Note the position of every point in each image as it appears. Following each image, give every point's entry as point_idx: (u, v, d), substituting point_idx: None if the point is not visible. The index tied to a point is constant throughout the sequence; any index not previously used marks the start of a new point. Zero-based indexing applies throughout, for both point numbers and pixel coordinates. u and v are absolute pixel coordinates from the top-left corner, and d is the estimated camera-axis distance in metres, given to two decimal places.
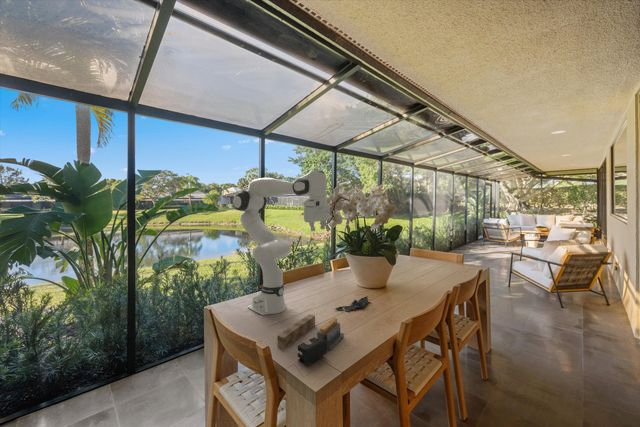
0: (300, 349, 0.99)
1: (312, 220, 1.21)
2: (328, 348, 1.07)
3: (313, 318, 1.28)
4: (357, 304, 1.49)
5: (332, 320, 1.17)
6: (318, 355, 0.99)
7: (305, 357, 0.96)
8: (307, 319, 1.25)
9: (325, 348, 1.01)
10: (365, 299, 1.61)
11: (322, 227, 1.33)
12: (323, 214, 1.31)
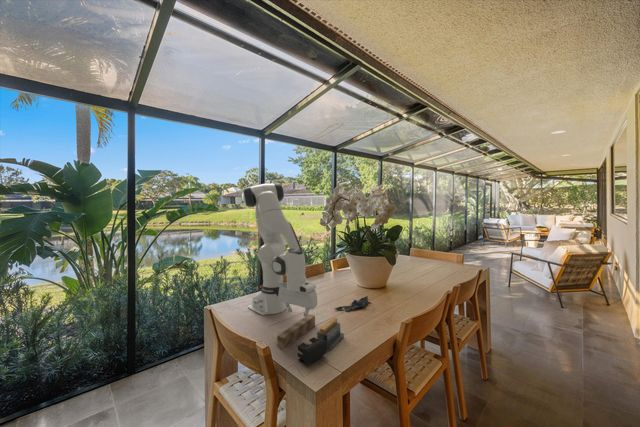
0: (300, 349, 0.99)
1: None
2: (328, 348, 1.07)
3: (313, 318, 1.28)
4: (357, 304, 1.49)
5: (332, 320, 1.17)
6: (318, 355, 0.99)
7: (305, 357, 0.96)
8: (307, 319, 1.25)
9: (325, 348, 1.01)
10: (365, 299, 1.61)
11: (291, 309, 1.21)
12: None
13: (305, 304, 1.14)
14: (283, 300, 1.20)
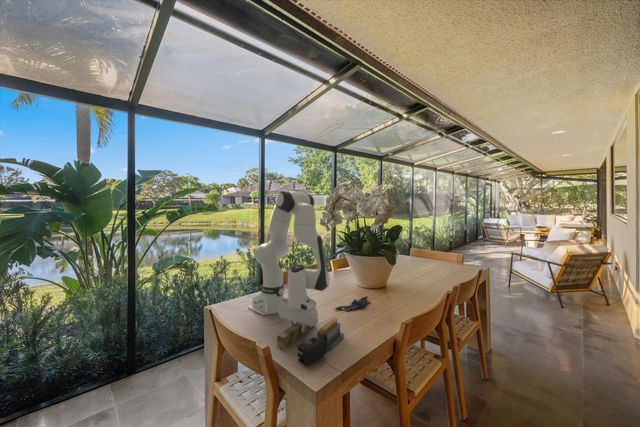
0: (300, 349, 0.99)
1: None
2: (328, 348, 1.07)
3: None
4: (357, 304, 1.49)
5: (332, 320, 1.17)
6: (318, 355, 0.99)
7: (305, 357, 0.96)
8: None
9: (325, 348, 1.01)
10: (365, 299, 1.61)
11: None
12: None
13: (306, 321, 1.15)
14: (284, 316, 1.21)
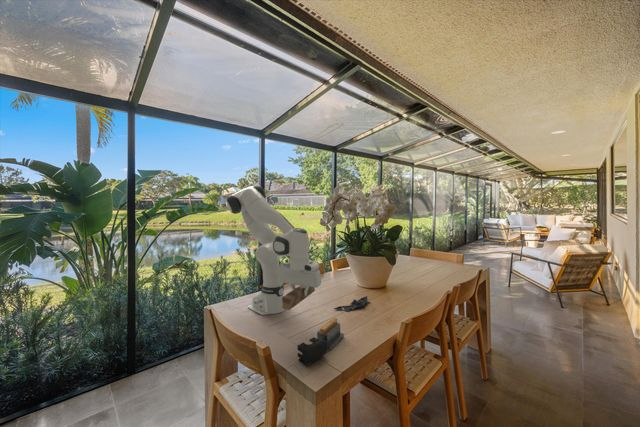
0: (300, 349, 0.99)
1: None
2: (328, 348, 1.07)
3: None
4: (356, 304, 1.49)
5: (332, 320, 1.17)
6: (318, 355, 0.99)
7: (305, 357, 0.96)
8: None
9: (325, 348, 1.01)
10: (365, 299, 1.61)
11: None
12: None
13: (309, 283, 1.13)
14: (285, 280, 1.19)
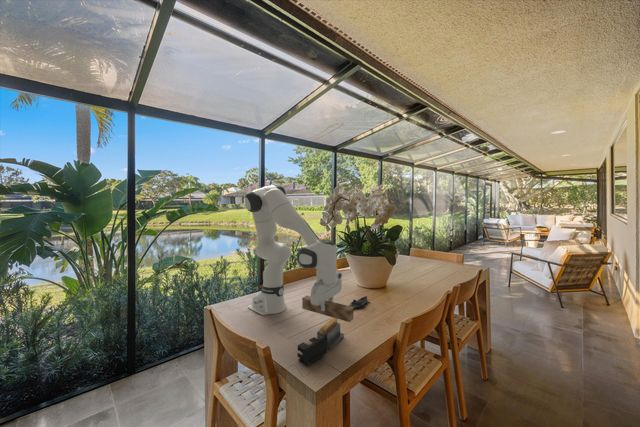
0: (300, 349, 0.99)
1: None
2: (328, 348, 1.07)
3: None
4: (356, 304, 1.49)
5: (332, 320, 1.17)
6: (318, 355, 0.99)
7: (305, 357, 0.96)
8: None
9: (325, 348, 1.01)
10: (364, 299, 1.61)
11: None
12: None
13: (337, 290, 1.16)
14: (322, 300, 1.06)
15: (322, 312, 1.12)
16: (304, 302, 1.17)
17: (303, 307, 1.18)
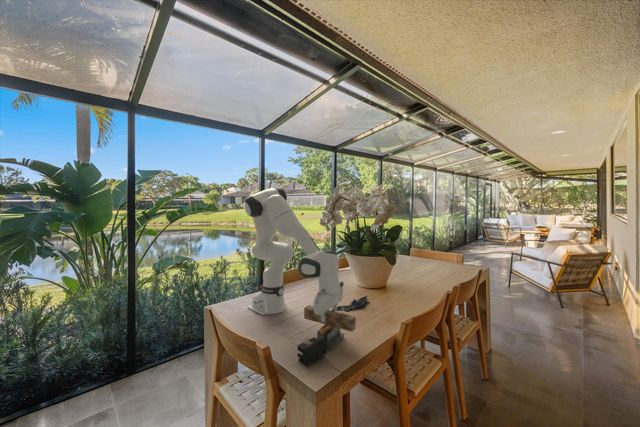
0: (300, 349, 0.99)
1: None
2: (328, 348, 1.07)
3: None
4: (356, 304, 1.49)
5: None
6: (318, 355, 0.99)
7: (305, 357, 0.96)
8: None
9: (325, 348, 1.01)
10: (364, 299, 1.62)
11: None
12: None
13: (338, 299, 1.18)
14: (325, 310, 1.07)
15: (324, 322, 1.13)
16: (306, 312, 1.18)
17: (305, 317, 1.18)
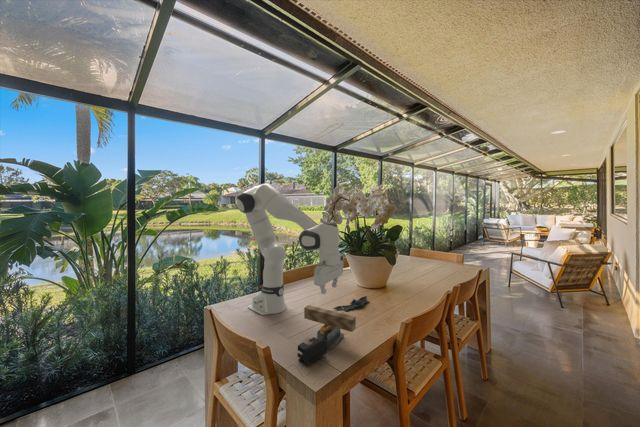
0: (300, 349, 0.99)
1: None
2: (328, 348, 1.07)
3: None
4: (356, 303, 1.50)
5: None
6: (318, 355, 0.99)
7: (305, 357, 0.96)
8: (316, 308, 1.18)
9: (325, 348, 1.01)
10: (364, 299, 1.62)
11: None
12: None
13: (339, 273, 1.17)
14: (325, 281, 1.07)
15: (324, 322, 1.13)
16: (306, 312, 1.18)
17: (305, 317, 1.18)
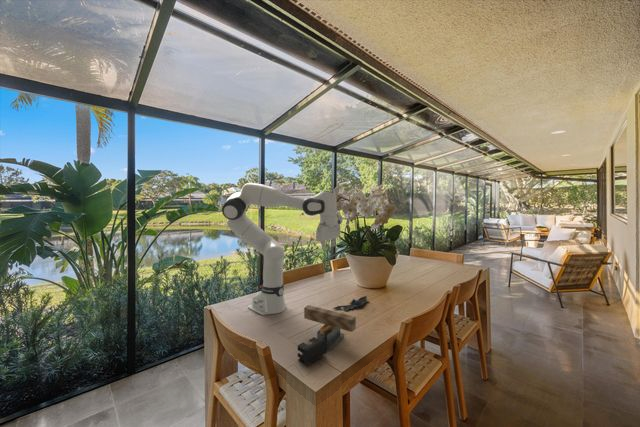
0: (300, 349, 0.99)
1: None
2: (328, 348, 1.07)
3: None
4: (356, 303, 1.50)
5: None
6: (318, 355, 0.99)
7: (305, 357, 0.96)
8: (316, 308, 1.18)
9: (325, 348, 1.01)
10: (364, 299, 1.62)
11: None
12: None
13: (336, 234, 1.40)
14: (325, 238, 1.30)
15: (324, 322, 1.13)
16: (306, 312, 1.18)
17: (305, 317, 1.18)
